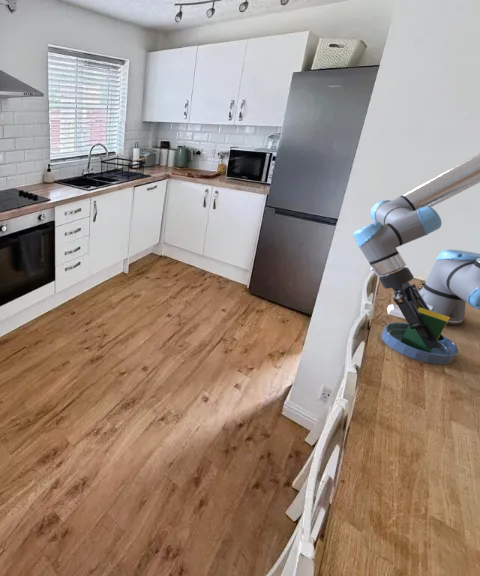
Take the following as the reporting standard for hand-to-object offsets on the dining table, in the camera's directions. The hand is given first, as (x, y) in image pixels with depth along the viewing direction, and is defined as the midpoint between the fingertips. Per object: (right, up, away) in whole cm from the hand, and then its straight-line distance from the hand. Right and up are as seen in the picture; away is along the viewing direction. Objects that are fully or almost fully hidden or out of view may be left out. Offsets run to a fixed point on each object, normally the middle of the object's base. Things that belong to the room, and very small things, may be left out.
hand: (436, 343), depth 105 cm
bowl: (-3, -2, +4) cm, 5 cm away
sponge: (-2, -1, +4) cm, 5 cm away
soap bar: (+8, +6, +21) cm, 23 cm away
